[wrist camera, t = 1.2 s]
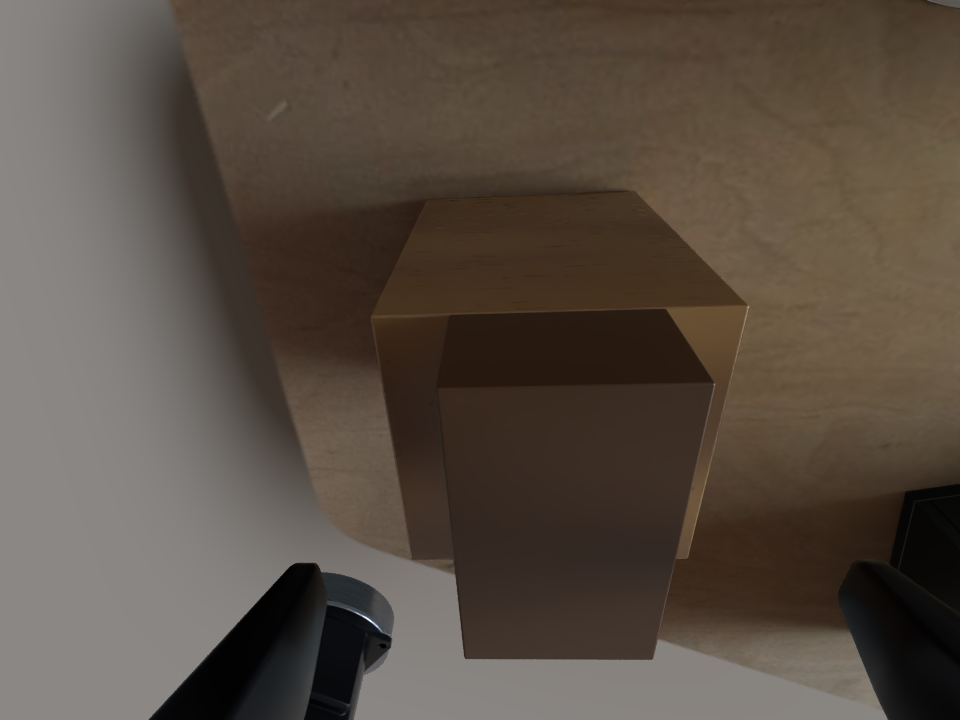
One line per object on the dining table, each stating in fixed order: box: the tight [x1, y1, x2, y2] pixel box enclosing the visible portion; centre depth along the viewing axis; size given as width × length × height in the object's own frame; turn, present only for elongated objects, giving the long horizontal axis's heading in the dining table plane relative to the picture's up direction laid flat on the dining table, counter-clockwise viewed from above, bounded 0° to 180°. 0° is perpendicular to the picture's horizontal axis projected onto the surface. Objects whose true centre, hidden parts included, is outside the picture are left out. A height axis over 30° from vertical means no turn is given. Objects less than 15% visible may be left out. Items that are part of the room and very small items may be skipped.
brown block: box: [436, 309, 715, 660], centre depth 10 cm, size 7×4×2 cm, turn 3°
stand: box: [370, 191, 749, 560], centre depth 15 cm, size 7×7×9 cm
